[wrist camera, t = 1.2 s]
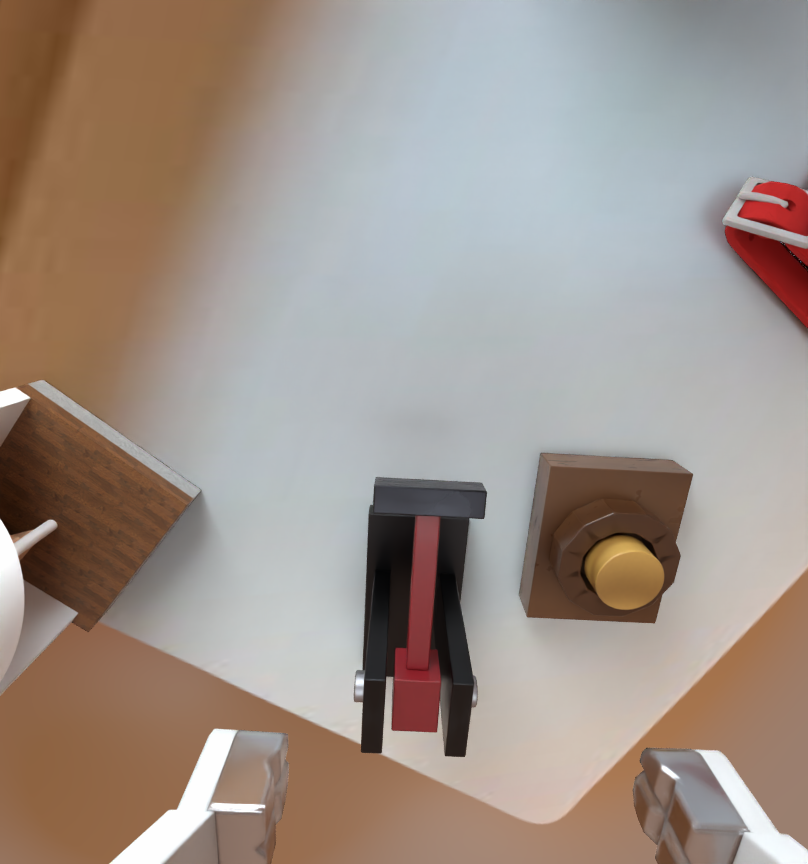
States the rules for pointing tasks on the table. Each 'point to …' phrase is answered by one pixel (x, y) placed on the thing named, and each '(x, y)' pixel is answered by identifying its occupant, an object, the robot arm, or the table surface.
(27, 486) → the display case
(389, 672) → the black lever base
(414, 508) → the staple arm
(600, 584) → the bell button
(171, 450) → the table surface
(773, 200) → the tracker holder
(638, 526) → the block
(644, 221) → the table surface
